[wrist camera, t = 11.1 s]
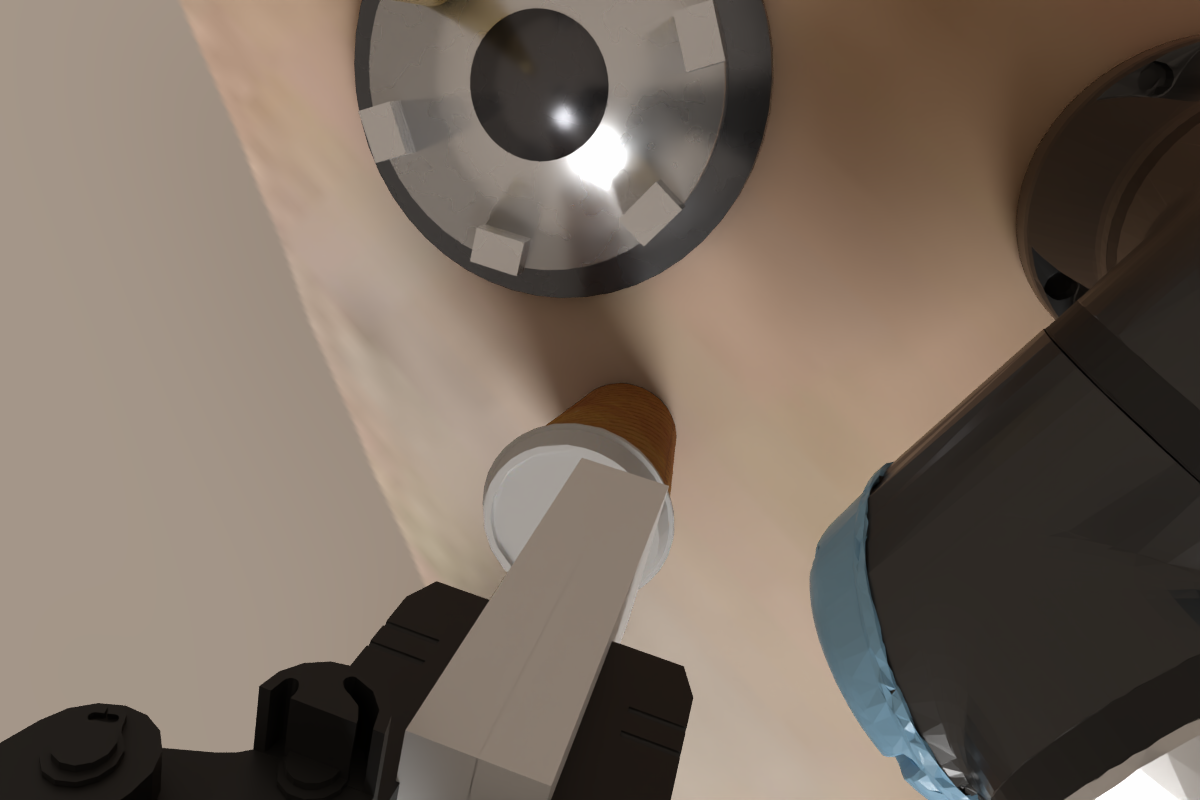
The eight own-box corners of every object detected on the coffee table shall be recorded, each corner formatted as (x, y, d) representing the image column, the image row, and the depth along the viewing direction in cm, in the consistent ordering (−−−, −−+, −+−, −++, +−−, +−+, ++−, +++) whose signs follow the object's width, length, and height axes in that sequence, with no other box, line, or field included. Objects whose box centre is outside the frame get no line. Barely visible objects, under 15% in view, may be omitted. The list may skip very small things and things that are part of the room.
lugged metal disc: (809, 86, 42) (801, 92, 31) (558, 330, 49) (479, 404, 38) (541, -212, 40) (433, -318, 29) (323, 85, 47) (171, 89, 36)
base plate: (835, -103, 40) (835, -111, 38) (704, 339, 49) (700, 348, 47) (396, -201, 43) (378, -212, 42) (346, 231, 52) (330, 237, 50)
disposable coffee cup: (540, 486, 55) (467, 590, 44) (555, 342, 51) (480, 415, 40) (690, 520, 53) (653, 637, 42) (717, 373, 49) (684, 459, 38)
